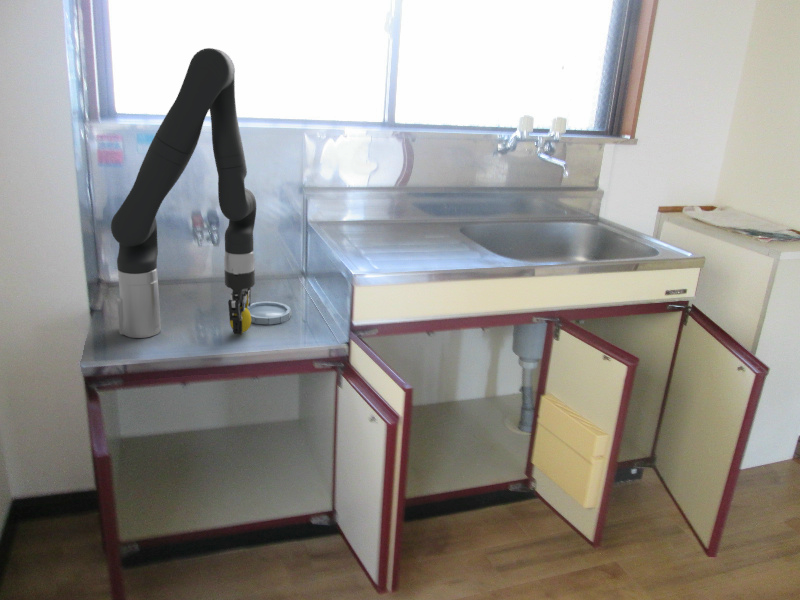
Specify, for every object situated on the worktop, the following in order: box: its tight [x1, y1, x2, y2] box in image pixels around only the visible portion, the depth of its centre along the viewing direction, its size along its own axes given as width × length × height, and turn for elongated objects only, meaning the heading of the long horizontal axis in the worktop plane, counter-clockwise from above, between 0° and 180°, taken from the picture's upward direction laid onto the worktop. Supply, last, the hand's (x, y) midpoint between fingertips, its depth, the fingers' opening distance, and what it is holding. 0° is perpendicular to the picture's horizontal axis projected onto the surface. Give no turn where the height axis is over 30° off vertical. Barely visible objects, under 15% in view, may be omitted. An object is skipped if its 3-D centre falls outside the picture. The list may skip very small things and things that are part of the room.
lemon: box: [229, 307, 252, 335], centre depth 175 cm, size 6×6×8 cm
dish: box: [249, 301, 292, 325], centre depth 189 cm, size 13×13×2 cm
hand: (240, 328), depth 176 cm, fingers closed on lemon, 5 cm apart
